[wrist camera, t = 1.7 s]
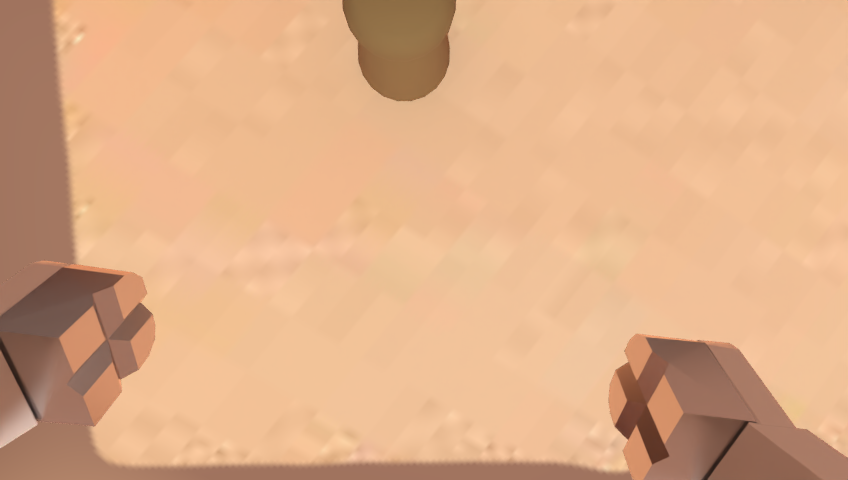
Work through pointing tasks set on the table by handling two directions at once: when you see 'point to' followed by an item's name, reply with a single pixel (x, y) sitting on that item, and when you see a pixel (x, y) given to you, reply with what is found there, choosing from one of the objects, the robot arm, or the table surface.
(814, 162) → the table surface
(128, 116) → the table surface
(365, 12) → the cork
